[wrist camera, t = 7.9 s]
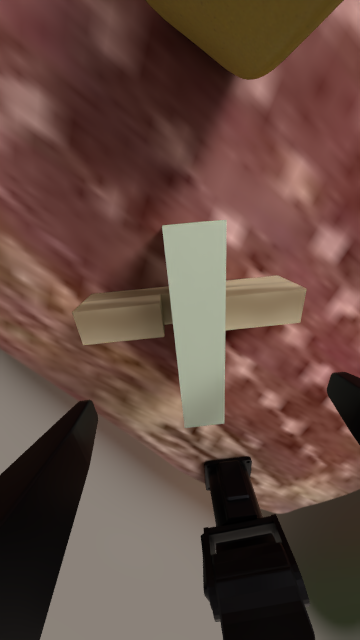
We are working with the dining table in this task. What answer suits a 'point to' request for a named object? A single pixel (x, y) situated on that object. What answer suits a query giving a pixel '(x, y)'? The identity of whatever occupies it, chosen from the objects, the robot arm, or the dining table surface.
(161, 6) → the flower pot
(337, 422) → the dining table surface
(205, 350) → the pale green plank
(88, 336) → the birch rail
